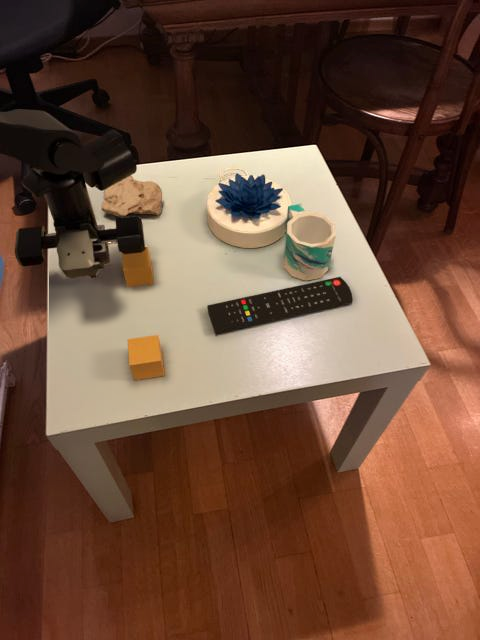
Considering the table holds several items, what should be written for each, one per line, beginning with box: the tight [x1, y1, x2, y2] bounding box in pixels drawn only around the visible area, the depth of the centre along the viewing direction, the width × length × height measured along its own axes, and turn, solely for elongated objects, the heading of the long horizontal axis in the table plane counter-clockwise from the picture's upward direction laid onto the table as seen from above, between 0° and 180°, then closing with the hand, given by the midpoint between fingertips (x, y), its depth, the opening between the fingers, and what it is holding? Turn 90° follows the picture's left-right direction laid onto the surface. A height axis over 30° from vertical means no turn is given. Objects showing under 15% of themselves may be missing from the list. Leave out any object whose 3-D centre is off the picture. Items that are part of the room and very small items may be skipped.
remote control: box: [206, 276, 354, 335], centre depth 80 cm, size 5×24×1 cm, turn 106°
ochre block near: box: [127, 334, 165, 381], centre depth 72 cm, size 4×4×4 cm
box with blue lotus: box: [206, 166, 292, 249], centre depth 91 cm, size 7×16×20 cm
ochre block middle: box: [121, 246, 155, 288], centre depth 82 cm, size 4×4×4 cm
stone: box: [101, 175, 163, 218], centre depth 91 cm, size 9×11×5 cm
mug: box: [283, 203, 337, 281], centre depth 84 cm, size 8×12×8 cm
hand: (93, 275), depth 81 cm, fingers closed
